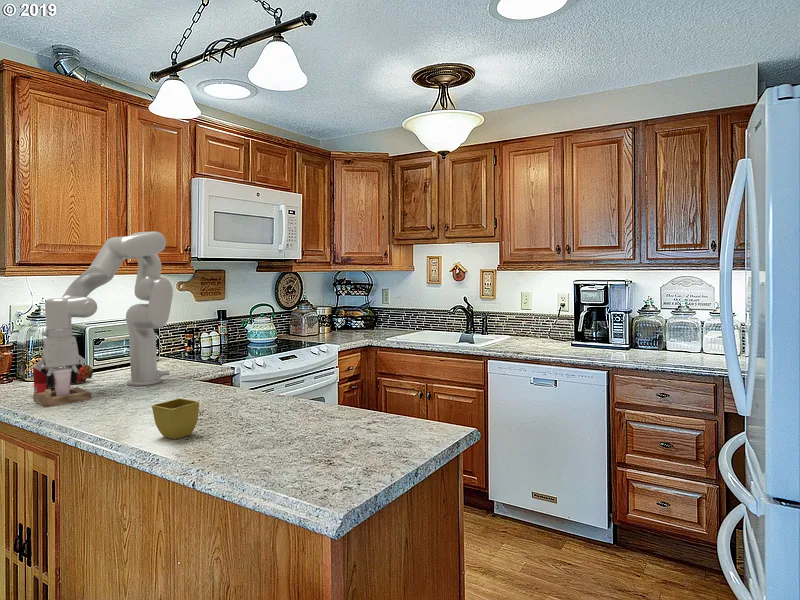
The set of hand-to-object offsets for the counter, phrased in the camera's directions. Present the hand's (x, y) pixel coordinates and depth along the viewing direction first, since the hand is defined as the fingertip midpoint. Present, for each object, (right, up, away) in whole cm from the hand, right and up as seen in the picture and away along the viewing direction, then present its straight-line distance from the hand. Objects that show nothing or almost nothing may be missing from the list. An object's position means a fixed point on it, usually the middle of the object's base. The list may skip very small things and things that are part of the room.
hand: (62, 384), depth 190 cm
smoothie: (0, -4, 0) cm, 4 cm away
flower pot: (+58, -7, -43) cm, 73 cm away
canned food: (-12, -5, +10) cm, 16 cm away
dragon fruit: (-12, -4, +29) cm, 32 cm away
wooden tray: (0, -5, 0) cm, 6 cm away
